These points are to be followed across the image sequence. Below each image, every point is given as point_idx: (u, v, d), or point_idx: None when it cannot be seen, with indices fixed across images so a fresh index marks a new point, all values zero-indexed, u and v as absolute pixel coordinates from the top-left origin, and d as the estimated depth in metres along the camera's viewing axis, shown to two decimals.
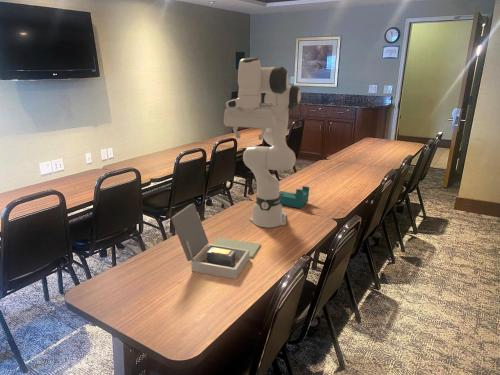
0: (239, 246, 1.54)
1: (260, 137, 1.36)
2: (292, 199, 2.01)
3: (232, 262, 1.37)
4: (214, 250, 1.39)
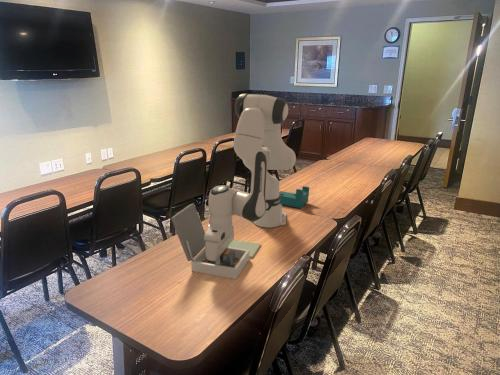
0: (239, 246, 1.54)
1: None
2: (292, 199, 2.01)
3: (231, 262, 1.37)
4: None
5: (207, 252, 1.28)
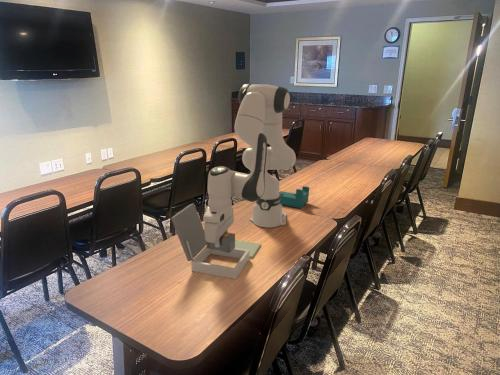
0: (239, 246, 1.54)
1: None
2: (292, 199, 2.01)
3: (231, 245, 1.35)
4: None
5: (206, 234, 1.27)
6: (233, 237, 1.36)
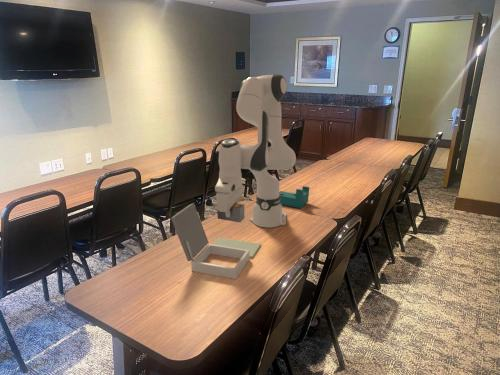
0: (239, 246, 1.54)
1: None
2: (292, 199, 2.01)
3: (241, 215, 1.42)
4: None
5: (218, 203, 1.33)
6: (243, 208, 1.42)
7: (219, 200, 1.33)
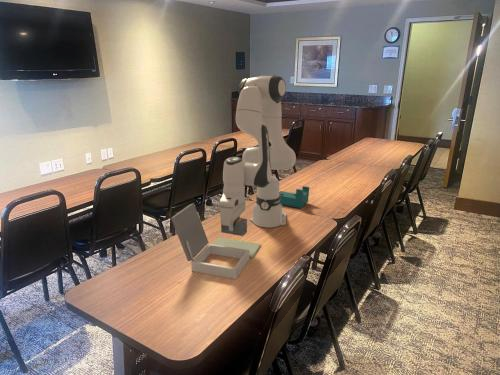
0: (239, 246, 1.54)
1: None
2: (292, 199, 2.01)
3: (244, 229, 1.48)
4: None
5: (222, 217, 1.40)
6: (245, 222, 1.49)
7: (223, 214, 1.39)
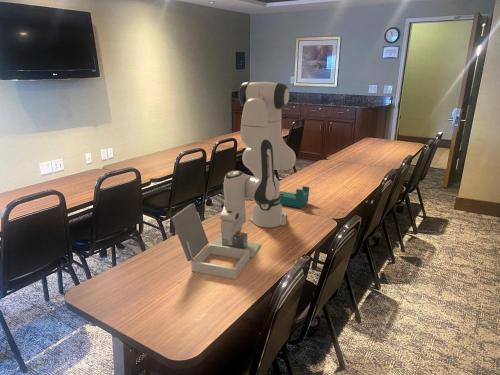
0: None
1: None
2: (292, 199, 2.01)
3: (244, 243, 1.50)
4: None
5: (223, 230, 1.41)
6: (246, 236, 1.51)
7: (224, 228, 1.41)
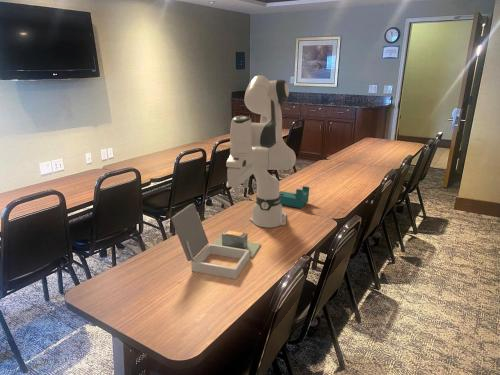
0: None
1: (247, 185, 1.48)
2: (292, 199, 2.01)
3: (244, 243, 1.50)
4: (228, 232, 1.52)
5: (229, 178, 1.34)
6: (246, 236, 1.51)
7: (230, 175, 1.33)
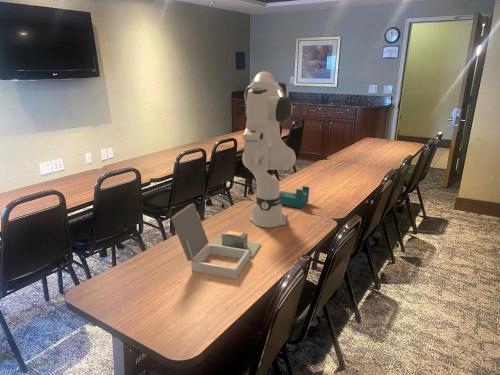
0: None
1: (262, 162, 1.43)
2: (292, 199, 2.01)
3: (244, 243, 1.50)
4: (228, 232, 1.52)
5: (246, 151, 1.28)
6: (246, 236, 1.51)
7: (247, 148, 1.27)
